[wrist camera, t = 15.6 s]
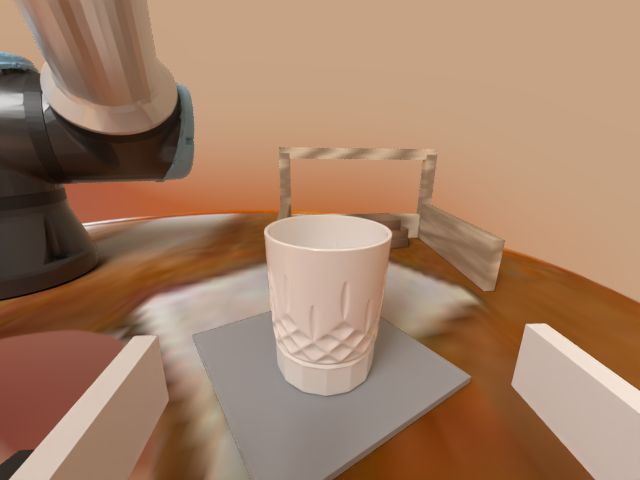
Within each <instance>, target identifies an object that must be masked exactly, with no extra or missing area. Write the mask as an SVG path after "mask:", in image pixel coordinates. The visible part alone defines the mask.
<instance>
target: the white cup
mask: <svg viewBox="0 0 640 480" xmlns="http://www.w3.org/2000/svg"><path fill="white" fill-rule="evenodd" d="M264 237H265V248H266V260H267V271H268V283H269V295H270V304H271V310H272V323H273V329H274V334H275V338H276V351H277V363H278V367H279V369H280V371H281V373H282V375H283V377H284V379H285V380H286V381H287V382H288V383H290V384H291V385H293V386H294V387H296V388H298V389H299V390H301V391H302V392H305V393H311V394H316V395H322V396H330V395H336V394H341V393H346V392H350V391H351V390H353V389H354V388H355V387H357V386H358V385H360V384H361V383H363V382H364V381H365V380H366V378H367V375H368V373H369V371H370V368H371V366H372V360H373V352H374V344H375V341H376V337H377V333H378V327H379V319H380V314H381V309H382V303H383V297H384V290H385V282H386V275H387V268H388V260H389V253H390V246H391V240H392V232H391V230H390V229H389V228H388V227H386V226H384V225H383V224H380V223H378V222H375V221H372V220H368V219H364V218H359V217H353V216H344V215H303V216H295V217H289V218H284V219H281V220H278V221H275V222H273V223H271V224H269V225H268V226H267V227H266V228H265V229H264Z"/></svg>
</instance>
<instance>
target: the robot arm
mask: <svg viewBox="0 0 640 480" xmlns="http://www.w3.org/2000/svg"><path fill="white" fill-rule="evenodd" d="M13 2H14V4H15V6H16V7H17V9H18V11H19V13H20V15H21V17H22V18H23V20H24V22H25V24H26V26H27V27H28V29H29V31H30V33H31V35H32V37H33V38H34V40H35V42H36V44H37V46H38V47H39V49H40V51H41V53H42V55H43V56H44V58H45V60H46V61H45V63H44V65H43V67H42V71H41V73H38V70H37V69H36V68H35V67H34V65H33V63H32V62H31V61H29V60H28V59H26V58H24V57H21V56H18V55H14V54H10V53H5V52H0V299H4V298H9V297H14V296H19V295H23V294H27V293H31V292H35V291H39V290H43V289H46V288H49V287H52V286H56V285H58V284H61V283H64V282H67V281H69V280H72V279H74V278H76V277H78V276H81V275H83V274H84V273H86V272H88V271H90V270H91V269H92V268H94V267H95V266H96V265H97V264H98V262H99V257H98V253H97V249H96V245H95V243H94V241H93V240H92V238H91V237H90V235H89V234H88V232H87V231H86V229H85V228H84V227H83V225H82V224H81V222H80V221H79V219H78V218H77V216H76V215H75V213H74V212H73V211H72V209H71V207H70V206H69V203H68V200H67V196H66V192H65V188H64V184H70V183H75V184H76V183H101V182H132V181H156V182H164V181H165V180H175V179H182V178H184V177H186V176H187V175H188V174H189V173H190V171H191V169H192V165H193V157H194V141H193V139H194V116H193V107H192V101H191V96H190V93H189V90H188V89H187V88H186V87H185V86H183V85H179V84H178V83H175V80H174V78H173V76H172V74H171V72H170V71H169V69H168V68H167V67H166V66H165V65H164V64H163V63H162V62H161V61H160V60H159V59H158V58H157V57H156V53H155V47H154V41H153V35H152V29H151V23H150V18H149V12H148V6H147V0H13ZM511 385H512V386H513V388H514V389H515V390H516V391H517V392H518V393H519V394H520V396H521V397H522V398H523V399H524V400H525V401H526V402H527V403H528V405H529V406H530V407H531V408H532V409H533V410H534V411H535V412H536V414H537V415H538V416H539V417H540V418H541V419H542V420H543V421H544V423H545V424H546V425H547V426H548V427H549V428H550V429H551V430H552V432H553V433H554V434H555V435H556V436H557V437H558V438H559V439H560V441H561V442H562V443H563V444H564V445H565V446H566V447H567V449H568V450H569V451H570V452H571V453H572V454H573V455H574V456H575V458H576V459H577V460H578V461H579V462H580V463H581V464H582V465H583V467H584V468H585V469H586V470H587V471H588V472H589V473H590V474H591V476H592V477H593V478H594V479H595V480H640V391H639V390H637V389H636V388H635V387H633V386H632V385H630V384H629V383H628V382H626V381H625V380H623V379H622V378H621V377H619V376H618V375H616V374H615V373H614V372H612V371H611V370H610V369H608V368H607V367H605V366H604V365H603V364H601V363H600V362H598V361H597V360H596V359H594V358H593V357H591V356H590V355H589V354H587V353H586V352H585V351H583V350H582V349H580V348H579V347H578V346H576V345H575V344H573V343H572V342H571V341H569V340H568V339H566V338H565V337H564V336H562V335H561V334H560V333H558V332H557V331H555V330H554V329H553V328H551V327H550V326H548V325H547V324H546V323H545V324H526V325H525V330H524V334H523V338H522V342H521V346H520V350H519V355H518V359H517V363H516V367H515V371H514V376H513V380H512V384H511ZM168 401H169V397H168V391H167V386H166V380H165V374H164V369H163V363H162V357H161V352H160V346H159V340H158V335H152V336H134V337H133V338H132V339H131V340H130V342H129V343H128V344H127V345H126V346H125V347H124V348H123V350H122V351H121V352H120V353H119V354H118V355H117V356H116V358H115V359H114V360H113V361H112V362H111V363H110V365H109V366H108V367H107V368H106V369H105V370H104V371H103V373H102V374H101V375H100V376H99V377H98V378H97V380H96V381H95V382H94V383H93V384H92V385H91V386H90V387H89V389H88V390H87V391H86V392H85V393H84V394H83V395H82V397H81V398H80V399H79V400H78V401H77V402H76V403H75V405H74V406H73V407H72V408H71V409H70V410H69V412H68V413H67V414H66V415H65V416H64V417H63V418H62V420H61V421H60V422H59V423H58V424H57V425H56V426H55V428H54V429H53V430H52V431H51V432H50V433H49V434H48V436H47V437H46V438H45V439H44V440H43V441H42V442H41V444H40V445H39V446H38V447H37V448H36V449H35V450H20V451H18V452H17V453H15V454H14V455H13V456H11V457H10V458H9V459H7V460H6V461H5V462H4V463H2V464H1V465H0V480H128V478H129V477H130V475H131V473H132V470H133V469H134V467H135V465H136V463H137V461H138V459H139V457H140V455H141V453H142V451H143V449H144V448H145V446H146V444H147V442H148V440H149V438H150V436H151V434H152V432H153V430H154V428H155V426H156V424H157V422H158V420H159V418H160V417H161V415H162V413H163V411H164V409H165V407H166V405H167V403H168Z"/></svg>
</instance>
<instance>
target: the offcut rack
mask: <svg viewBox="0 0 640 480" xmlns="http://www.w3.org/2000/svg"><path fill="white" fill-rule="evenodd" d="M290 158H306V159H309V158H312V159H400V160H401V159H404V160H411V159H412V160H423V164H422V173H421V181H420V190H419V199H418V208H417V214H391V215H393V216H395V217H396V218H398V219H400V220H401V226H403V227H405V228H408V229H409V232H408V238H419V239H421V240H422V241H423V242H424V243H425V244H427V245H428V246H429V247H430V248H432V249H433V250H434V251H435V252H436V253H438V254H439V255H440V256H441V257H443V258H444V259H445V260H446V261H448V262H449V263H450V264H451V265H452V266H454V267H455V268H456V269H457V270H459V271H460V272H461V273H462V274H463V275H465V276H466V277H467V278H468V279H470V280H471V281H472V282H473V283H474V284H476V285H477V286H478V287H479V288H481V289H482V290H483V291H494V290H495V285H496V280H497V276H498V271H499V266H500V261H501V257H502V252H503V247H504V242H505V240H503V239H501V238H499V237H497V236H495V235H493V234H491V233H489V232H487V231H485V230H483V229H481V228H478V227H476V226H474V225H472V224H470V223H468V222H466V221H464V220H462V219H460V218H458V217H455V216H453V215H451V214H449V213H447V212H445V211H443V210H441V209H439V208H437V207H435V206H433V205H431V199H432V191H433V183H434V176H435V168H436V160H437V150H436V149H362V148H361V149H360V148H285V147H283V148H281V147H279V164H280V198H281V199H280V200H281V208H280V211H279V214H278V217H277V221H278V220H281V219H284V218H289V217H295V216H303V215H349V214H291V189H290Z"/></svg>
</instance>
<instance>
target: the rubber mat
mask: <svg viewBox="0 0 640 480" xmlns="http://www.w3.org/2000/svg"><path fill="white" fill-rule="evenodd" d="M193 340H194V343H195V345H196V347H197V350H198V352H199V355H200V357H201V359H202V362H203V364H204V367H205V369H206V372H207V374H208V376H209V379H210V381H211V384H212V386H213V388H214V391H215V393H216V396H217V398H218V401H219V403H220V405H221V408H222V410H223V413H224V415H225V417H226V420H227V422H228V425H229V427H230V430H231V432H232V434H233V437H234V439H235V442H236V444H237V446H238V449H239V451H240V454H241V456H242V459H243V461H244V463H245V466H246V468H247V471H248V473H249V475H250V478H251V480H333V479H334V478H336V477H337V476H339V475H340V474H341V473H343V472H344V471H346V470H347V469H349V468H350V467H351V466H353V465H354V464H356V463H357V462H358V461H360V460H361V459H363V458H364V457H365V456H367V455H368V454H370V453H371V452H372V451H374V450H375V449H377V448H378V447H380V446H381V445H382V444H384V443H385V442H387V441H388V440H389V439H391V438H392V437H394V436H395V435H396V434H398V433H399V432H401V431H402V430H403V429H405V428H406V427H408V426H409V425H411V424H412V423H413V422H415V421H416V420H418V419H419V418H420V417H422V416H423V415H425V414H426V413H427V412H429V411H430V410H432V409H433V408H434V407H436V406H437V405H439V404H440V403H442V402H443V401H444V400H446V399H447V398H449V397H450V396H451V395H453V394H454V393H456V392H457V391H458V390H460V389H461V388H463V387H464V386H465V385H467V384H468V383H470V380H471V376H470V375H468V374H467V373H465V372H464V371H462V370H461V369H459V368H458V367H456V366H455V365H453V364H452V363H450V362H449V361H447V360H446V359H444V358H442V357H441V356H439V355H438V354H436V353H435V352H433V351H432V350H430V349H429V348H427V347H426V346H424V345H423V344H421V343H420V342H418V341H417V340H415V339H414V338H412V337H411V336H409V335H407V334H406V333H404V332H403V331H401V330H400V329H398V328H397V327H395V326H394V325H392V324H391V323H389V322H388V321H386V320H385V319H383V318H382V317H380V319H379V327H378V333H377V337H376V341H375V344H374V352H373V360H372V366H371V368H370V371H369V373H368V375H367V378H366V380H365V381H364V382H363V383H361V384H360V385H358V386H357V387H355V388H354V389H353V390H351V391H350V392H346V393H341V394H336V395H330V396H322V395H316V394H311V393H305V392H302V391H301V390H299V389H298V388H296V387H294V386H293V385H291V384H290V383H288V382H287V381H286V380H285V379H284V377H283V375H282V373H281V371H280V369H279V367H278V363H277V351H276V338H275V334H274V329H273V323H272V311H270V312H266V313H263V314H260V315H257V316H253V317H250V318H247V319H244V320H240V321H237V322H234V323H231V324H227V325H224V326H221V327H218V328H214V329H211V330H208V331H205V332H201V333H198V334H195V335H193Z"/></svg>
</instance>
